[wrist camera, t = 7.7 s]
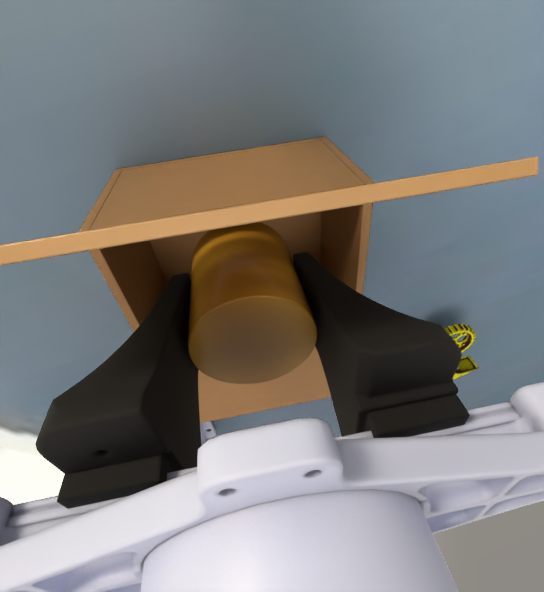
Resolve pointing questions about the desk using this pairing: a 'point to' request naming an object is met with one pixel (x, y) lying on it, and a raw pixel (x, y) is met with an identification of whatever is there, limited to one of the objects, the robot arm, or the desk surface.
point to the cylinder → (247, 307)
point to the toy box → (179, 249)
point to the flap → (264, 211)
